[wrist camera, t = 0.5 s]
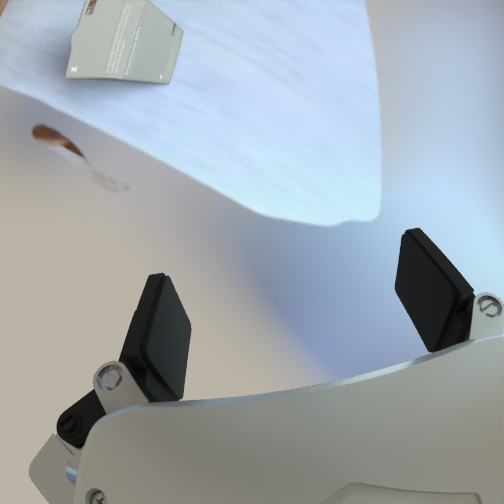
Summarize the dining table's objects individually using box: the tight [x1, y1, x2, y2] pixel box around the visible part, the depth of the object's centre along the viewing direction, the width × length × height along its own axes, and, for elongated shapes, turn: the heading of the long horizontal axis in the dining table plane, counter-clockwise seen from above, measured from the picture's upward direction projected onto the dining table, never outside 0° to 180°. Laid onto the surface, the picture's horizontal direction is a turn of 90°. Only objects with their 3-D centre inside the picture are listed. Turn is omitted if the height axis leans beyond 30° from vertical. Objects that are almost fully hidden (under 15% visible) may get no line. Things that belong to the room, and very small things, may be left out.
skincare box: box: [65, 0, 183, 84], centre depth 23 cm, size 8×7×16 cm
